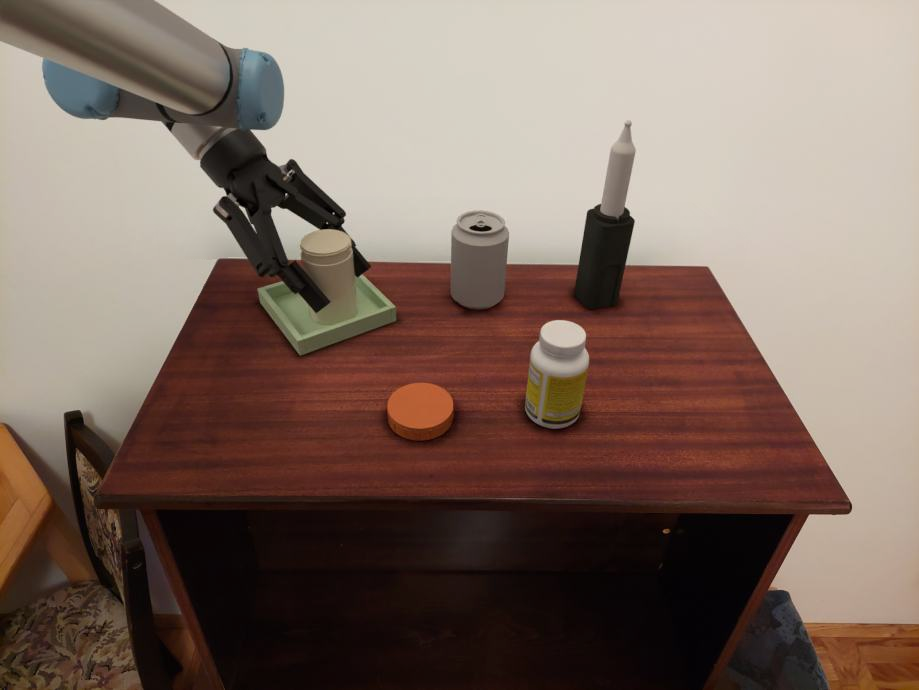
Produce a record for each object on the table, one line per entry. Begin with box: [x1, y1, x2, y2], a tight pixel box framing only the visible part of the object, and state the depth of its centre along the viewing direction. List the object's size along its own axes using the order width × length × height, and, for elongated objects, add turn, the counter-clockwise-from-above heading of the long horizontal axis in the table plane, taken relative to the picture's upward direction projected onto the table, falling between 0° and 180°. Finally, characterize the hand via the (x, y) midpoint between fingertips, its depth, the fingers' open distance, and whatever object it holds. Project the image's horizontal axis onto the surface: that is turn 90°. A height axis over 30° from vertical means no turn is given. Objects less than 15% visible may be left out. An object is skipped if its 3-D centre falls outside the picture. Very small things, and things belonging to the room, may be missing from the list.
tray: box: [257, 273, 397, 356], centre depth 86 cm, size 14×14×2 cm
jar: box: [299, 229, 358, 325], centre depth 82 cm, size 6×6×11 cm
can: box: [449, 209, 510, 311], centre depth 86 cm, size 8×8×12 cm
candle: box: [573, 119, 637, 311], centre depth 83 cm, size 5×5×25 cm
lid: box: [386, 382, 455, 442], centre depth 71 cm, size 7×7×2 cm
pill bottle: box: [524, 319, 590, 430], centre depth 69 cm, size 6×6×11 cm
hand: (344, 289), depth 82 cm, fingers open, 9 cm apart
